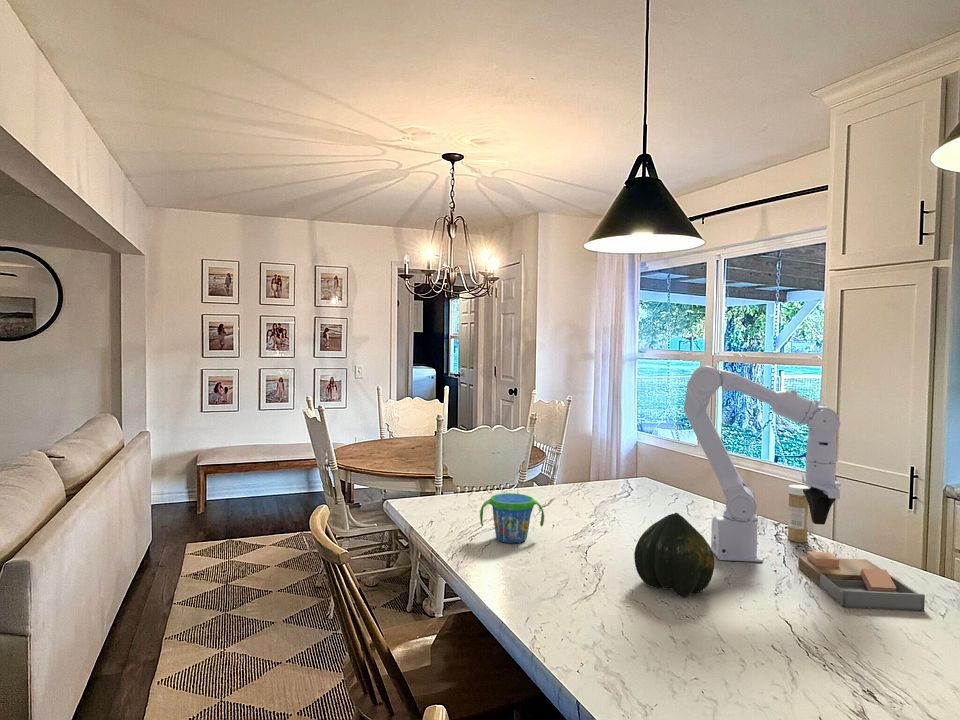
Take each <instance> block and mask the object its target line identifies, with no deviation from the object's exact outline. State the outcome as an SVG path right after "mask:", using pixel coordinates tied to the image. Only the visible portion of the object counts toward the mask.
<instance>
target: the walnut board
mask: <svg viewBox="0 0 960 720" xmlns="http://www.w3.org/2000/svg"><path fill="white" fill-rule="evenodd" d="M837 558H838V559H839V567H822V566H815V565H814V564H813V563H812V562H810V561H809V560H808V559H807V556H798V569H799V570H801V572H803V573H804V574H805V575H806V576H807V577H809V578H810V579H811V580H812V581H813V582H814V583H815V584H816V585H817V586H820V574H823V575H824V576H826V577H827V578H828V579H834V580H856V581H863V579H862V577H861V575H860V573H861V570H862V569H880V570H883V569H882V568H881V567H880V566H878V565H875V563H873V562H872V561H870V560H868V559H864V558H863V559H862V558H843V557H841V558H839V557H837ZM889 575H890V574H889ZM890 577H891V579H892V577H893V576H892V575H890Z"/></svg>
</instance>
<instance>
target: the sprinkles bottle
mask: <svg viewBox="0 0 960 720" xmlns="http://www.w3.org/2000/svg"><path fill="white" fill-rule="evenodd" d="M803 489H810V486H808V485H805V484H804V485H803V484H789V485H788V489H787V490H788V492H787V493H788V508H787V509H788V510H787V511H788V512H787V513H788V517H787V519H788V520H787V528H788V529H787V539H788V541H789V540H790V541H791V542H795V543H800V544H801V543H807V542H809V541H808V540H809V538H808V534H809V533H808V528H809V515H808V513H809V505H808V501H807V499H806V496H805V494H804V493H803Z"/></svg>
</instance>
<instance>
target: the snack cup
mask: <svg viewBox="0 0 960 720" xmlns="http://www.w3.org/2000/svg"><path fill="white" fill-rule="evenodd" d="M487 505H491V507H492V514H493V515H492V516H493V525H494V531H495V538H496V540H498V541H499V542H502V543H505V544H506V543H507V544H515V543H519V544H521V543H522V542H524V541H526V540H527V539H528V535H529V529H530V523H531V516H532V511H533V509H534V506H535V505H537V506H538V508H539V509H540V512H541V515H540V516H541V517H540V522H539V524H540V527H541V528H542V527H543V526H544V522H545V511H544V509H543V507H542V505H541V503H539V502H538V501H537V500H535V499H534V498H533V497H532V496H529V495H526V494H522V493H521V494H520V493H513V492H512V493H510V492H509V493H499V494H494V495H492V496H491V497H490V498H489V499H487V500H485V501H484V502H483V504H482V505H481V508H480V510H479V511H480V512H479V520H480V524H481V526H482V527H484V521H483V518H484V517H483V516H484V508H485V507H486V506H487Z"/></svg>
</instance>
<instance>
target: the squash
mask: <svg viewBox="0 0 960 720" xmlns="http://www.w3.org/2000/svg"><path fill="white" fill-rule="evenodd" d="M633 557H634V565H635V569H636V572H637V574H638V576H639V577H640V579H641V581H642V582H643V583H644V584H646V585H647V586H648V587H651V588H655V589H665V590H666V591H667V590H668V591H670V590H673V592H674V594H675V595H677V596H679V597H681V598H685V597H688V596H690V595H692V594H699V593H701V592H703V591H704V590H705V589H706V588H707V587H708V585H709V584H710V582H711V580H712V578H713V575H714V570H715V557H714V553H713V551H712V549H711V545H710V544H709V543H708V541H707V540H706V538H705V537H704V536H703V535H702V534H701V532H699V531H698V530H697V529H696V528H695V527H694V526H693V525H692V524H691V523H690V522H689V521H688V520H687V519H686V518H685V517H684V516H682V515H680V513H678V512H675V513H671V514H668V515H666V516H664V517H663V518H660V519H659V520H658V521H656V522H655V523H653V524H652V525H650V526H649V527H648V528H647V529H646V530H644V532H643V533H642V534H641V535H640V537H639V539H638V540H637V543H636V546H635V548H634V553H633Z"/></svg>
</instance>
